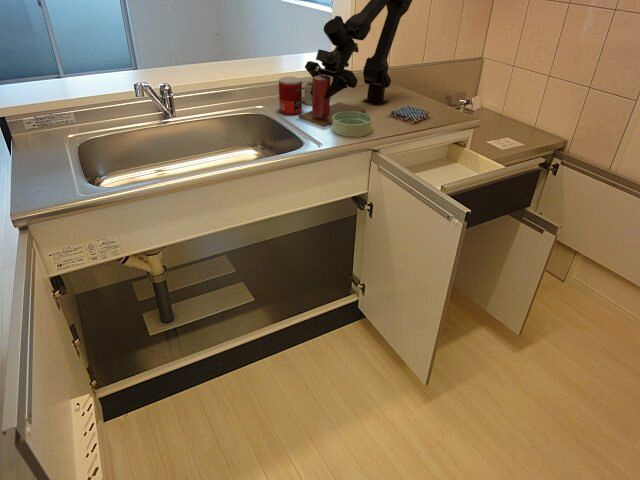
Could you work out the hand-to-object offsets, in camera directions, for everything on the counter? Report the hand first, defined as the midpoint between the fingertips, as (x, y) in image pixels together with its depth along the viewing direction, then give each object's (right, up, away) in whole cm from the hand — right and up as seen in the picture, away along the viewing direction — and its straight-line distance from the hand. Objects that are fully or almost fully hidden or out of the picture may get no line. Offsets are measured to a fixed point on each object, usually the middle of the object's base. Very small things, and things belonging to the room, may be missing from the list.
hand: (318, 96), depth 142 cm
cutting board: (+5, -4, +10) cm, 12 cm away
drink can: (+1, -5, +4) cm, 6 cm away
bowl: (+11, -12, -1) cm, 16 cm away
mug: (-4, +5, +22) cm, 23 cm away
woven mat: (+32, -4, +12) cm, 34 cm away
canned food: (-10, -1, +14) cm, 17 cm away
